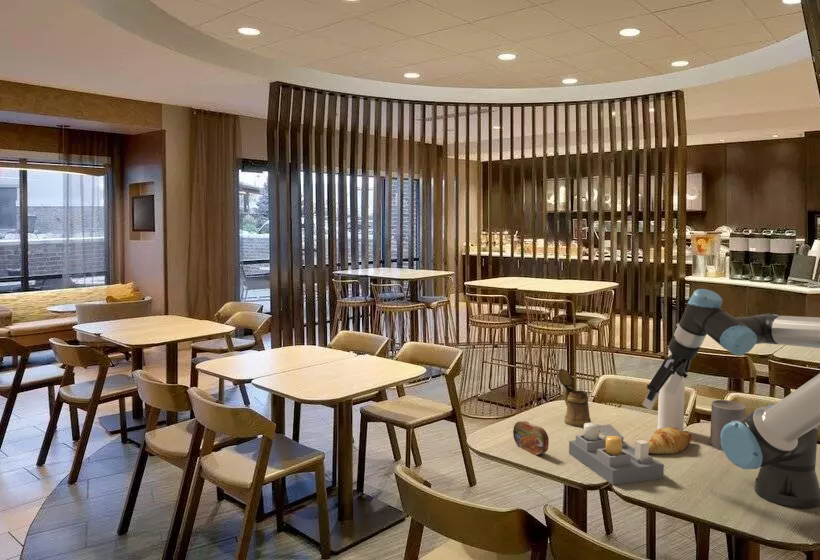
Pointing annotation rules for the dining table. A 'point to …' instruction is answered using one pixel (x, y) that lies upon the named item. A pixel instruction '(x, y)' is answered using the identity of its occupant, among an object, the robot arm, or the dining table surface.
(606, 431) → the plate
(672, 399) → the bottle
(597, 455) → the panel
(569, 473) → the dining table surface
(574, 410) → the wooden mug
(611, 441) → the amber button
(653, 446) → the croissant
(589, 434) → the white button
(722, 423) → the pillar candle
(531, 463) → the dining table surface
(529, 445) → the tin
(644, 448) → the slider knob
